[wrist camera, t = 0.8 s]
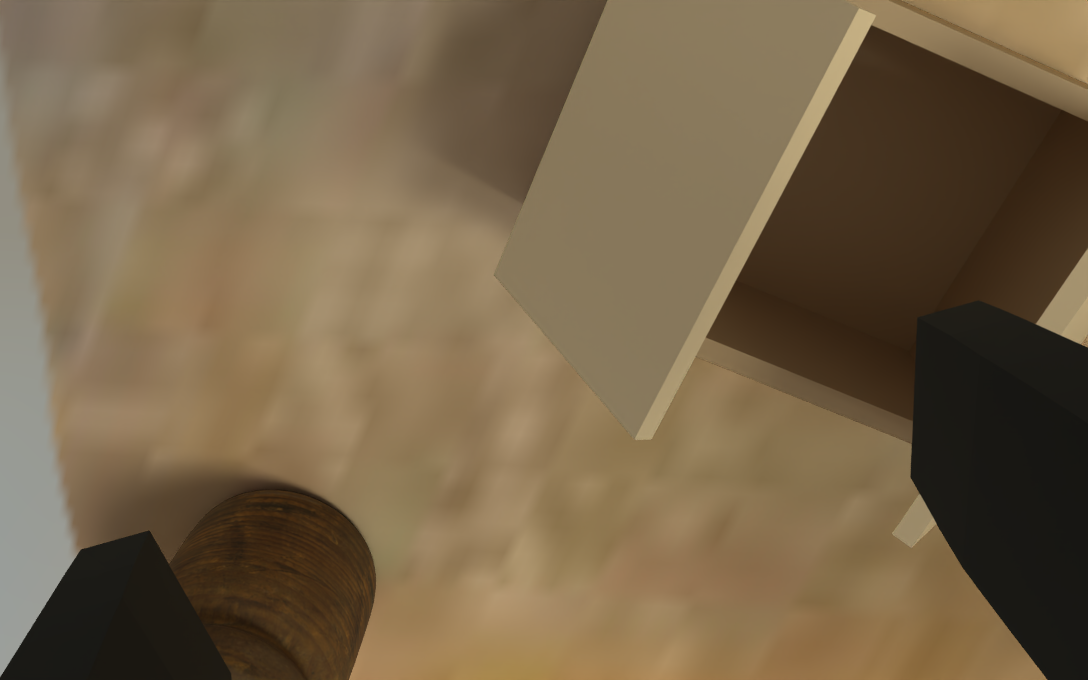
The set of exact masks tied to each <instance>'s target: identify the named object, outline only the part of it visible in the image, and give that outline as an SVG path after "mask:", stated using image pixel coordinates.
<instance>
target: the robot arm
mask: <svg viewBox="0 0 1088 680" xmlns="http://www.w3.org/2000/svg"><path fill="white" fill-rule="evenodd" d="M911 479H912V481H913V482H914V484H915V486H916V488H917V490H918V491H919V493H920V495H921V497H922V499H923V500H924V502H925V504H926V506H927V508H928V509H929V511H930V513H931V515H932V517H933V518H934V520H935V522H936V524H937V525H938V527H939V529H940V531H941V532H942V534H943V536H944V537H945V539H946V541H947V542H948V544H949V546H950V547H951V549H952V551H953V552H954V554H955V556H956V557H957V559H958V561H959V562H960V564H961V566H962V567H963V569H964V570H965V571H966V573H967V574H968V575H969V577H970V578H971V579H972V581H973V582H974V584H975V585H976V586H977V588H978V589H979V590H980V592H981V593H982V594H983V596H984V597H985V598H986V600H987V601H988V602H989V603H990V605H991V606H992V607H993V609H994V610H995V611H996V613H997V614H998V615H999V617H1000V618H1001V619H1002V621H1003V622H1004V623H1005V625H1006V626H1007V627H1008V629H1009V630H1010V631H1011V633H1012V634H1013V635H1014V637H1015V638H1016V639H1017V640H1018V642H1019V643H1020V644H1021V646H1022V647H1023V648H1024V650H1025V651H1026V652H1027V654H1028V655H1029V656H1030V657H1031V659H1032V660H1033V661H1034V663H1035V664H1036V665H1037V667H1038V668H1039V669H1040V670H1041V672H1042V673H1043V674H1044V676H1045V677H1046V678H1047V680H1088V348H1087V347H1085V346H1083V345H1081V344H1079V343H1076V342H1074V341H1072V340H1070V339H1068V338H1065V337H1063V336H1061V335H1059V334H1057V333H1054V332H1052V331H1050V330H1048V329H1045V328H1043V327H1041V326H1039V325H1037V324H1034V323H1032V322H1030V321H1028V320H1025V319H1023V318H1021V317H1018V316H1016V315H1014V314H1011V313H1009V312H1007V311H1004V310H1002V309H1000V308H997V307H995V306H992V305H990V304H987V303H984V302H982V301H979V300H978V301H974V302H971V303H967V304H963V305H960V306H956V307H953V308H949V309H945V310H942V311H938V312H935V313H931V314H927V315H924V316H920V317H917V334H916V358H915V382H914V406H913V430H912V454H911ZM0 680H232V678H231V672H230V671H229V669H228V667H227V665H226V664H225V662H224V660H223V658H222V657H221V655H220V653H219V651H218V650H217V648H216V646H215V644H214V643H213V641H212V639H211V637H210V636H209V634H208V632H207V630H206V629H205V627H204V625H203V623H202V622H201V620H200V618H199V616H198V615H197V613H196V611H195V609H194V608H193V606H192V604H191V602H190V601H189V599H188V597H187V595H186V594H185V592H184V590H183V588H182V587H181V585H180V583H179V581H178V580H177V578H176V576H175V574H174V573H173V571H172V569H171V567H170V566H169V564H168V562H167V560H166V559H165V557H164V555H163V553H162V552H161V550H160V548H159V546H158V545H157V543H156V541H155V539H154V538H153V536H152V534H151V532H150V531H146V532H143V533H139V534H136V535H132V536H128V537H125V538H121V539H118V540H114V541H110V542H107V543H103V544H100V545H96V546H92V547H89V548H85V549H82V550H80V552H79V553H78V555H77V556H76V558H75V559H74V561H73V563H72V564H71V566H70V567H69V569H68V570H67V572H66V573H65V575H64V576H63V578H62V579H61V581H60V583H59V584H58V586H57V588H56V589H55V591H54V592H53V594H52V596H51V597H50V599H49V600H48V602H47V603H46V605H45V607H44V608H43V610H42V611H41V613H40V615H39V616H38V618H37V619H36V621H35V623H34V624H33V626H32V628H31V629H30V631H29V632H28V634H27V635H26V637H25V639H24V640H23V642H22V644H21V645H20V647H19V648H18V650H17V652H16V653H15V655H14V656H13V658H12V659H11V661H10V663H9V664H8V666H7V667H6V669H5V671H4V672H3V674H2V675H1V677H0Z"/></svg>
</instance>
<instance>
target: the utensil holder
mask: <svg viewBox="0 0 1088 680" xmlns="http://www.w3.org/2000/svg"><path fill="white" fill-rule="evenodd" d="M169 566H170V567H171V569H172V571H173V573H174V574H175V576H176V578H177V580H178V581H179V583H180V585H181V587H182V588H183V590H184V592H185V594H186V595H187V597H188V599H189V601H190V602H191V604H192V606H193V608H194V609H195V611H196V613H197V615H198V616H199V618H200V620H201V622H202V623H203V625H204V627H205V629H206V630H207V632H208V634H209V636H210V637H211V639H212V641H213V643H214V644H215V646H216V648H217V650H218V651H219V653H220V655H221V657H222V658H223V660H224V662H225V664H226V665H227V667H228V669H229V671H230V672H231V678H232V680H349V677H350V675H351V672H352V669H353V666H354V664H355V661H356V658H357V655H358V652H359V649H360V646H361V643H362V640H363V637H364V634H365V631H366V628H367V625H368V621H369V618H370V615H371V611H372V607H373V603H374V597H375V589H376V573H375V567H374V563H373V559H372V556H371V553H370V551H369V548H368V546H367V544H366V542H365V541H364V539H363V538H362V536H361V535H360V533H359V532H358V531H357V529H356V528H355V527H354V526H353V525H352V524H351V523H350V522H349V521H348V520H347V519H346V518H345V517H344V516H342V515H341V514H340V513H339V512H337V511H336V510H335V509H333V508H331V507H330V506H328V505H326V504H324V503H323V502H321V501H318V500H316V499H314V498H311V497H309V496H306V495H302V494H299V493H294V492H289V491H282V490H260V491H253V492H248V493H244V494H241V495H238V496H235V497H233V498H230V499H228V500H226V501H225V502H223V503H221V504H219V505H218V506H217V507H215V508H214V509H212V510H211V511H210V512H209V513H208V514H207V515H206V516H205V517H204V518H203V519H202V520H201V521H200V522H199V523H198V524H197V525H196V527H195V528H194V529H193V531H192V532H191V533H190V534H189V536H188V537H187V539H186V540H185V541H184V543H183V544H182V546H181V547H180V549H179V550H178V552H177V554H176V555H175V557H174V558H173V560H172V561H171V563H170V564H169Z"/></svg>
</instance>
